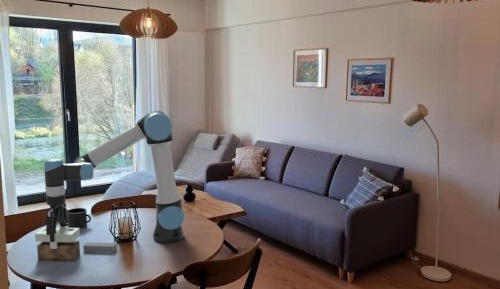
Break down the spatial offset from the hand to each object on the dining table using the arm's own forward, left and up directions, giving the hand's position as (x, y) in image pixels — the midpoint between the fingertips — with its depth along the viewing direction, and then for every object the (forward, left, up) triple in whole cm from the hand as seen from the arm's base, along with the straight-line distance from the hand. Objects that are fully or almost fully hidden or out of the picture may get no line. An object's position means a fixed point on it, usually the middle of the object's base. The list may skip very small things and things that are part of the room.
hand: (58, 244), depth 188 cm
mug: (+7, -39, -7) cm, 40 cm away
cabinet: (0, 0, -6) cm, 6 cm away
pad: (-15, -9, -6) cm, 19 cm away
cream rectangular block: (0, 0, +3) cm, 3 cm away
